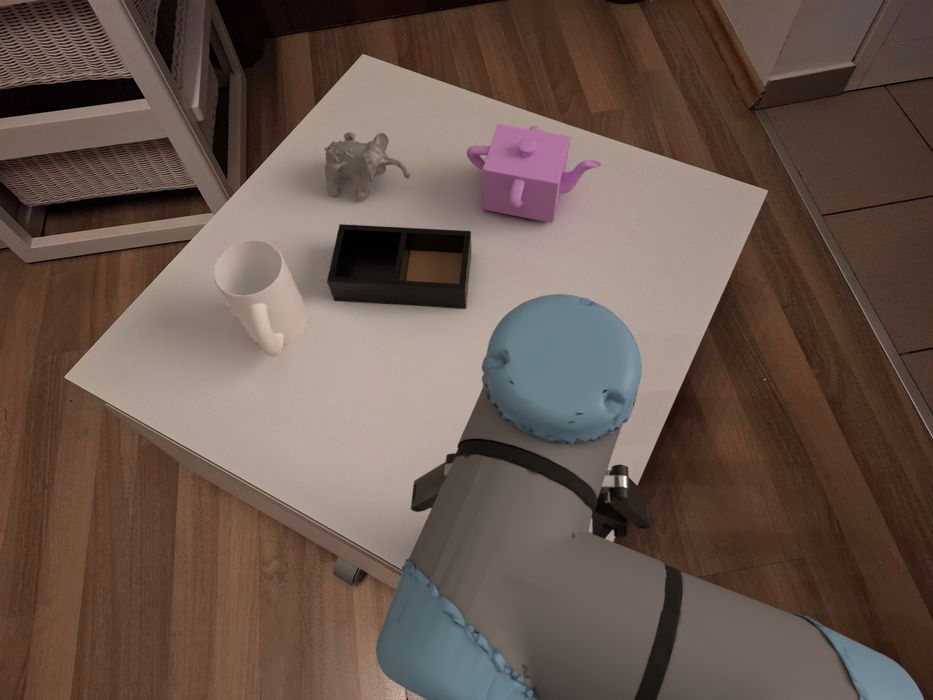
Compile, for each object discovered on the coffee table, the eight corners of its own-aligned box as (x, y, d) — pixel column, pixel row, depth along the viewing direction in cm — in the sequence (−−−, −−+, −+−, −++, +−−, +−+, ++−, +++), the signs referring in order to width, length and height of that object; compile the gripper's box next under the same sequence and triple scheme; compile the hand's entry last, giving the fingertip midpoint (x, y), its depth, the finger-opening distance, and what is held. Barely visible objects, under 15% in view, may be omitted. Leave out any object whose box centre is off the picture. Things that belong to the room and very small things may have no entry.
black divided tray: (465, 308, 84) (465, 289, 80) (334, 301, 85) (326, 281, 81) (471, 252, 89) (470, 230, 84) (346, 245, 90) (339, 223, 86)
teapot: (598, 176, 94) (610, 122, 85) (581, 251, 88) (592, 201, 79) (479, 154, 97) (478, 99, 88) (454, 226, 91) (450, 175, 82)
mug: (249, 382, 80) (214, 334, 69) (242, 302, 86) (208, 247, 75) (315, 367, 81) (290, 318, 70) (304, 289, 86) (279, 233, 76)
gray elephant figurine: (330, 162, 97) (318, 122, 90) (410, 156, 97) (405, 116, 90) (329, 210, 93) (316, 172, 86) (412, 204, 93) (407, 165, 86)
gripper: (725, 414, 44) (654, 495, 63) (366, 391, 46) (401, 476, 65) (737, 525, 41) (658, 575, 60) (349, 495, 43) (391, 553, 61)
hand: (524, 524), depth 62 cm, fingers open, 13 cm apart
